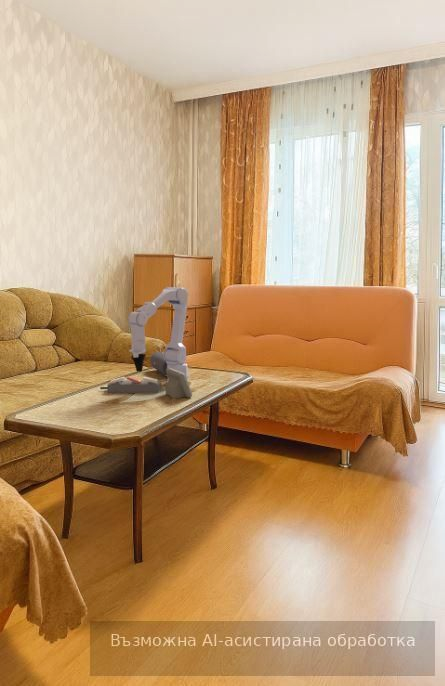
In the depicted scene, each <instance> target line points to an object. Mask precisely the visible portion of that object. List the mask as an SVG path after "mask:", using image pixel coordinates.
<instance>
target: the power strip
mask: <svg viewBox="0 0 445 686" xmlns="http://www.w3.org/2000/svg"><path fill="white" fill-rule="evenodd" d="M157 380H158V379H157ZM99 388H100V390H107V393H108V394H115V393H116V394H124V393H125V394H128V393H129V394H130V393H131V394H134V393H137V394H139V393H140V394H141V393H144V394H145V393H146V394H151V393H153V394H154V393H160V392H161V390H162V380H158V381H157V383H153V382H149V381H146V380H143V379H142V380H141V383H140V384H138V383H136V382H133V381H130V380H122V381H118V382H115V383H110V382H109V383H108V384H107V385H106V386H100V387H99Z"/></svg>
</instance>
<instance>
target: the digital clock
mask: <svg viewBox="0 0 445 686" xmlns="http://www.w3.org/2000/svg"><path fill="white" fill-rule="evenodd" d="M166 373H167V376H166V377H167V380H168V379H169V381H168V382H167V381H166V382H167V383H166V382H165V395H167V396H169V397H172V398H173V399H180V398H187V399H189V398H192V397H193V392H192V389H191V387H190V384H189V380H188V381H187V378H186V376H185V374H184V373H182V372H179V371H177V370H174V369H172V368H167V369H166Z"/></svg>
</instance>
